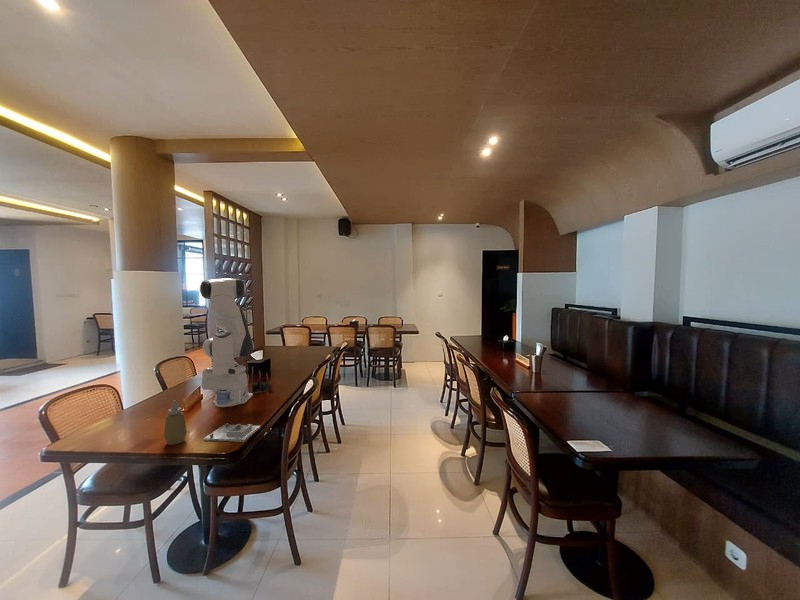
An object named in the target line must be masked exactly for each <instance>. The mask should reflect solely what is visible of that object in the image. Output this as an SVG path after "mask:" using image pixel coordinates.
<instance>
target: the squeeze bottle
mask: <svg viewBox="0 0 800 600" xmlns="http://www.w3.org/2000/svg"><path fill="white" fill-rule="evenodd" d="M167 413H168V414H167V415H166V416H165V422H164V434H163V437H164V440H165V441H166V445H168V446H174V445H179V444H181V443H183V442H184V441H185V439H186V436H187V433H188V431H187V424H186V419H185V418H186V417H185V413H184V412H182V407H179V406H178V403H177V400H173V401H172V403H171V408H169V409H168V410H167Z"/></svg>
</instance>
